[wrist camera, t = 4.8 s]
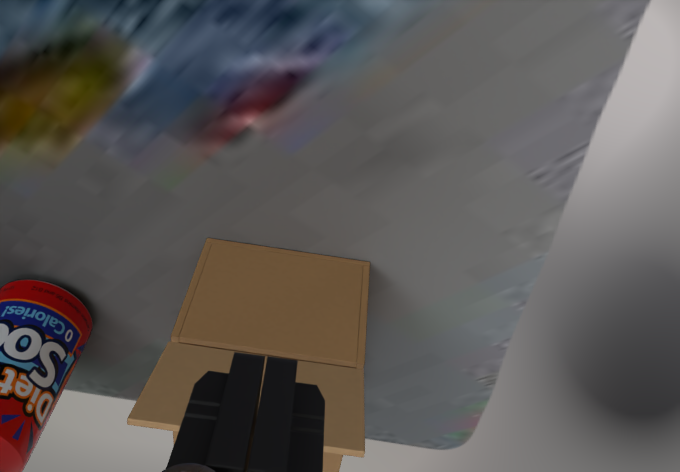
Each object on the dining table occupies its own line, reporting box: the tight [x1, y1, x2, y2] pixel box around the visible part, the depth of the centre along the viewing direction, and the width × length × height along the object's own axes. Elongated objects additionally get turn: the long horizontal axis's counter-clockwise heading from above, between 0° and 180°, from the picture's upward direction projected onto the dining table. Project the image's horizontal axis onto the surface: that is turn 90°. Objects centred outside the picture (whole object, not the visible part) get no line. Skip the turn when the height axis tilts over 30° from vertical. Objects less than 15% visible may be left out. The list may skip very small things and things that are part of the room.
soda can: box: [0, 279, 92, 472], centre depth 46 cm, size 8×8×15 cm
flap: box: [127, 342, 365, 457], centre depth 35 cm, size 7×12×1 cm
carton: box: [171, 238, 370, 472], centre depth 47 cm, size 15×12×10 cm
